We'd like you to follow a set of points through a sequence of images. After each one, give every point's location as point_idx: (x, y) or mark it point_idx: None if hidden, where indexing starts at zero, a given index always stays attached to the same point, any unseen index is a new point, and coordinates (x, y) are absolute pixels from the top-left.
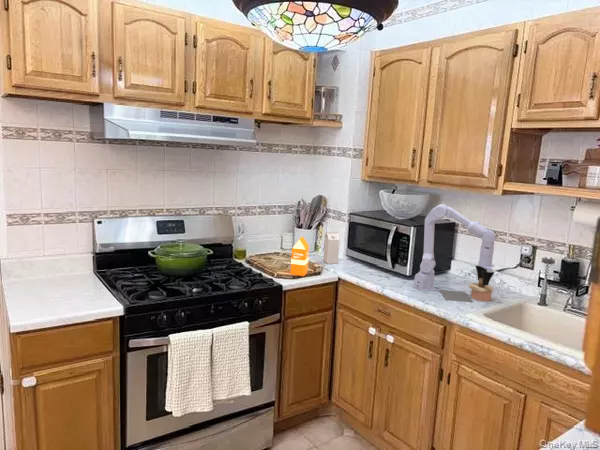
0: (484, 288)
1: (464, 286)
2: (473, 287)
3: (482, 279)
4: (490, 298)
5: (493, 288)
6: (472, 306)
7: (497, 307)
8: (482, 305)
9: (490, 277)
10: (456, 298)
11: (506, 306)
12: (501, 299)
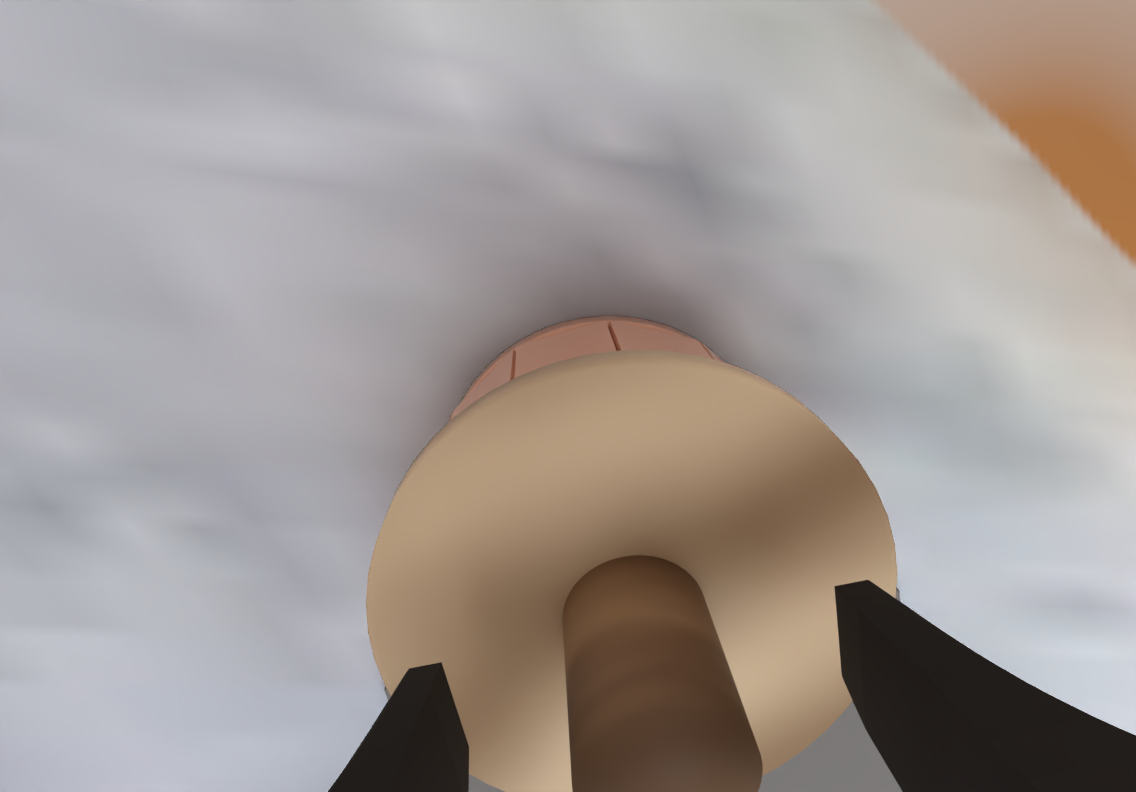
0: (757, 567)
1: (5, 672)
2: (772, 755)
3: (753, 782)
4: (707, 349)
5: (666, 369)
6: (1049, 602)
7: (1010, 245)
8: (966, 471)
9: (1112, 746)
10: (793, 783)
11: (908, 61)
12: (473, 96)
